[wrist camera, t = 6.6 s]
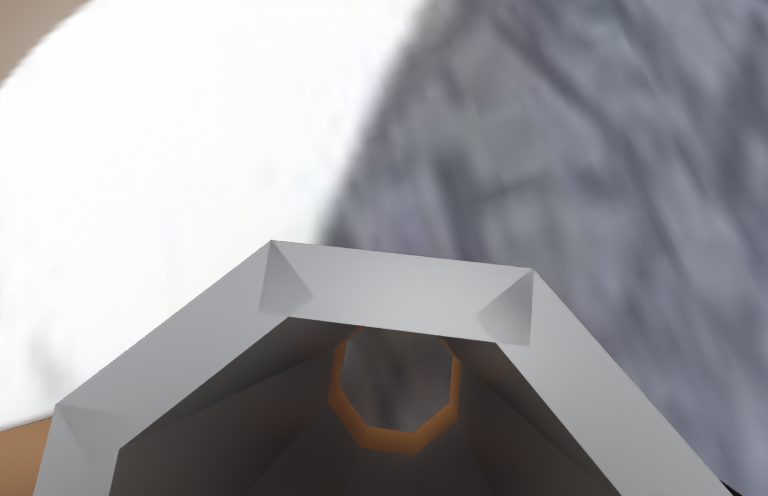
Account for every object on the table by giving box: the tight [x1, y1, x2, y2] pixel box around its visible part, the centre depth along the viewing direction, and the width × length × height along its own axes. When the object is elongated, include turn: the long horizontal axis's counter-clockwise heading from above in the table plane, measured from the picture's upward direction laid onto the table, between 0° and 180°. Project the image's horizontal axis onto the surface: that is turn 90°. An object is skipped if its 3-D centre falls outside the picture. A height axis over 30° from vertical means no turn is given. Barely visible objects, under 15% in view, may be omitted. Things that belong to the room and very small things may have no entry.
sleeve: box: [33, 240, 733, 496], centre depth 9 cm, size 6×6×13 cm
